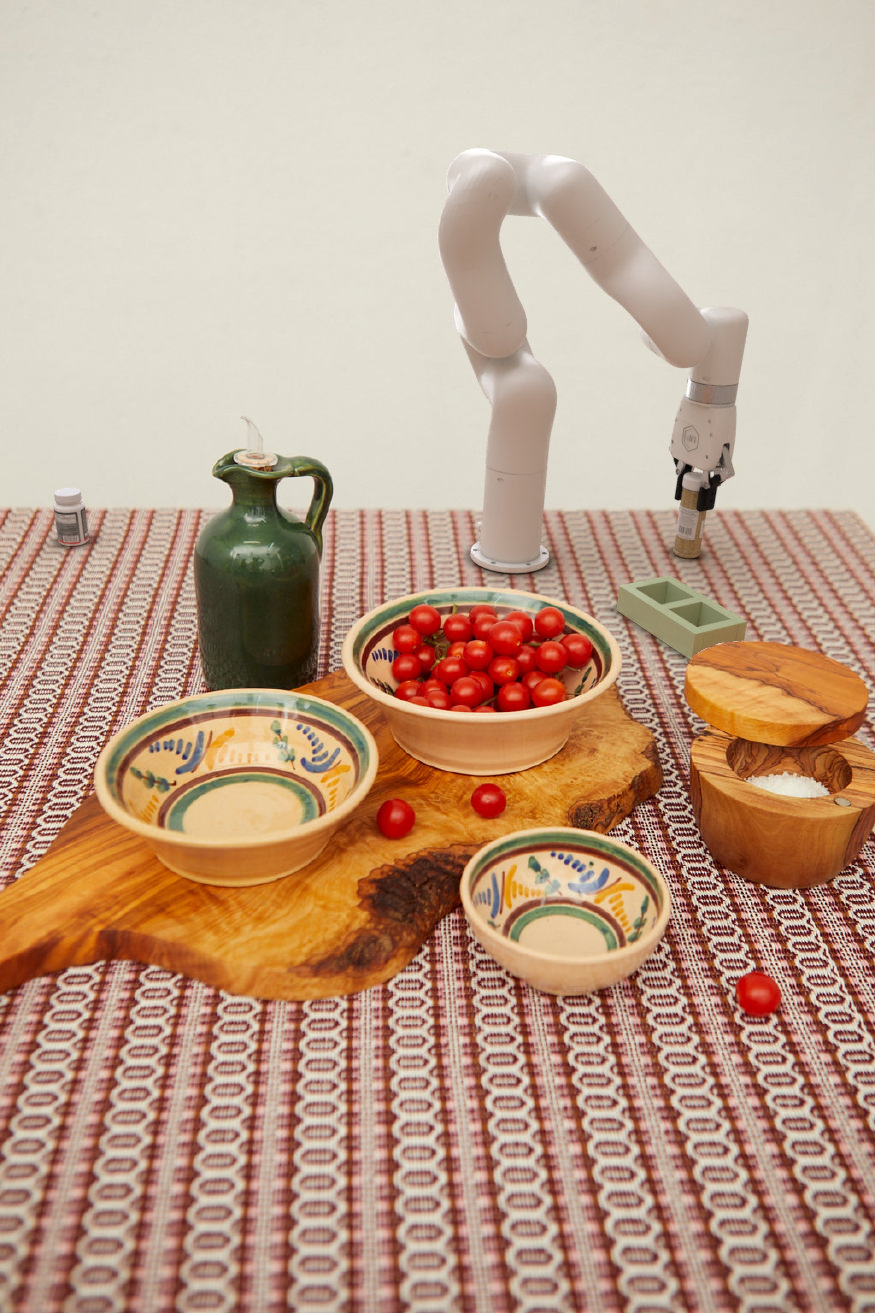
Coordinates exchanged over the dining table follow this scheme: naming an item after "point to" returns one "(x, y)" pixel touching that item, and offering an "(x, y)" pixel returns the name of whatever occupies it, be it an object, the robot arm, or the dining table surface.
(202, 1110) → the dining table surface
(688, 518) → the sprinkles bottle
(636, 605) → the socket block
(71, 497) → the pill bottle
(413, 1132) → the dining table surface
